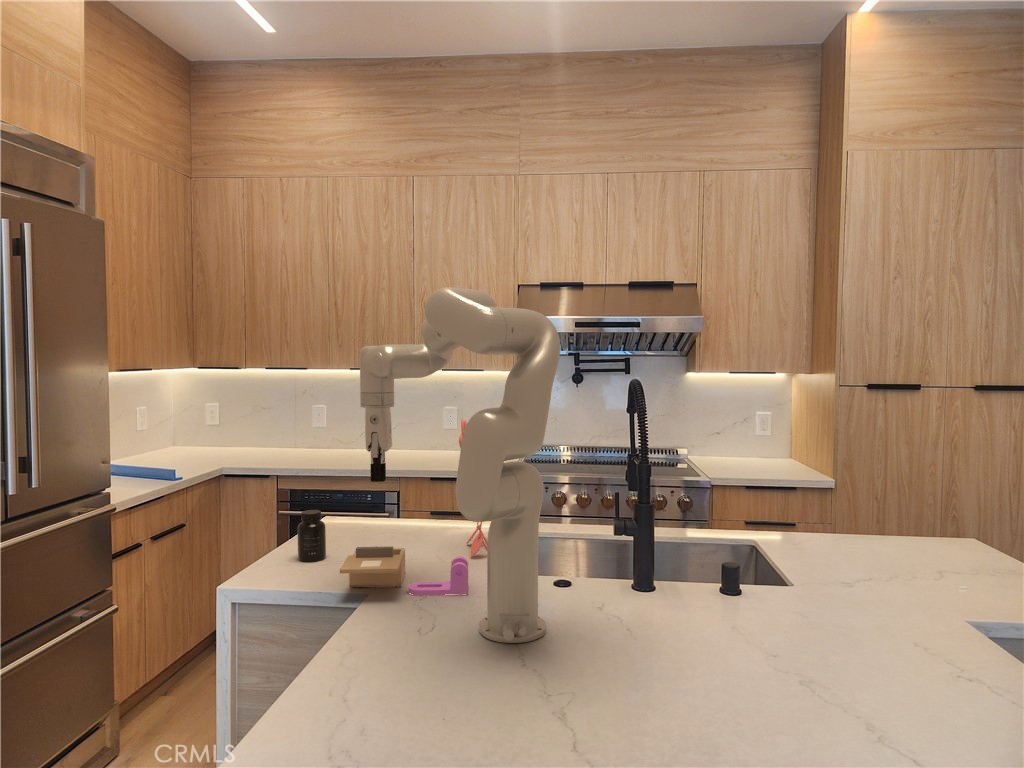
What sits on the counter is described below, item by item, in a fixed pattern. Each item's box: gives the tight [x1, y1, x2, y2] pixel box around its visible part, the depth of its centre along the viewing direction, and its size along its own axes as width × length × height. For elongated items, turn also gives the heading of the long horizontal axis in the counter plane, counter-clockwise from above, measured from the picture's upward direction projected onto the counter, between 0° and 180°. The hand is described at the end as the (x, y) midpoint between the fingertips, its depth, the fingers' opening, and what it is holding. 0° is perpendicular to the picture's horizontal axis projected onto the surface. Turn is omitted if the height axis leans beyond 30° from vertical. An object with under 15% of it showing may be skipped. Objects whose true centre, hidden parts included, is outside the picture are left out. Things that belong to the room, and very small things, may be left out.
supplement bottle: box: [297, 509, 327, 563], centre depth 173 cm, size 7×7×12 cm
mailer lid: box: [339, 546, 403, 574], centre depth 147 cm, size 10×12×3 cm
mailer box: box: [348, 547, 406, 588], centre depth 157 cm, size 9×11×6 cm
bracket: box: [407, 555, 469, 596], centre depth 150 cm, size 13×6×7 cm, turn 93°
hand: (378, 480), depth 156 cm, fingers closed
